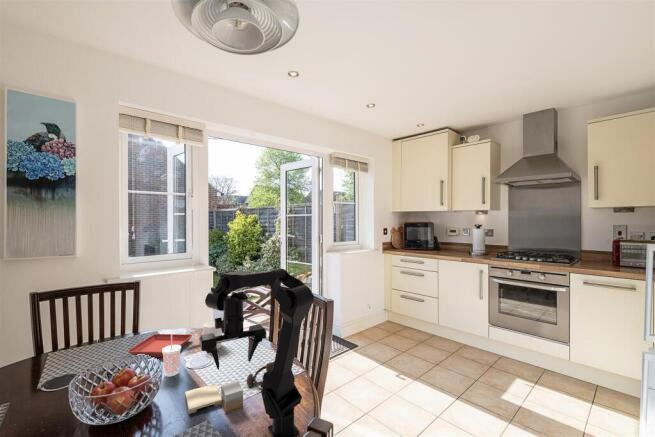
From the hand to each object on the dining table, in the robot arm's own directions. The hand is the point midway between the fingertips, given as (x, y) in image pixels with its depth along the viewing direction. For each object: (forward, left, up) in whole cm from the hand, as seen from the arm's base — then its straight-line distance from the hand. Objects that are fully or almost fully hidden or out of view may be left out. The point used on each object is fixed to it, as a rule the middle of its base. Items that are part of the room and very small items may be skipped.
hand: (234, 365), depth 91 cm
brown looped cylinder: (+7, -13, -12) cm, 19 cm away
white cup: (+44, -2, -12) cm, 46 cm away
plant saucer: (+53, +17, -13) cm, 57 cm away
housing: (-1, +1, -12) cm, 12 cm away
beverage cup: (+29, +15, -12) cm, 35 cm away
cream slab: (+6, +8, -12) cm, 16 cm away
